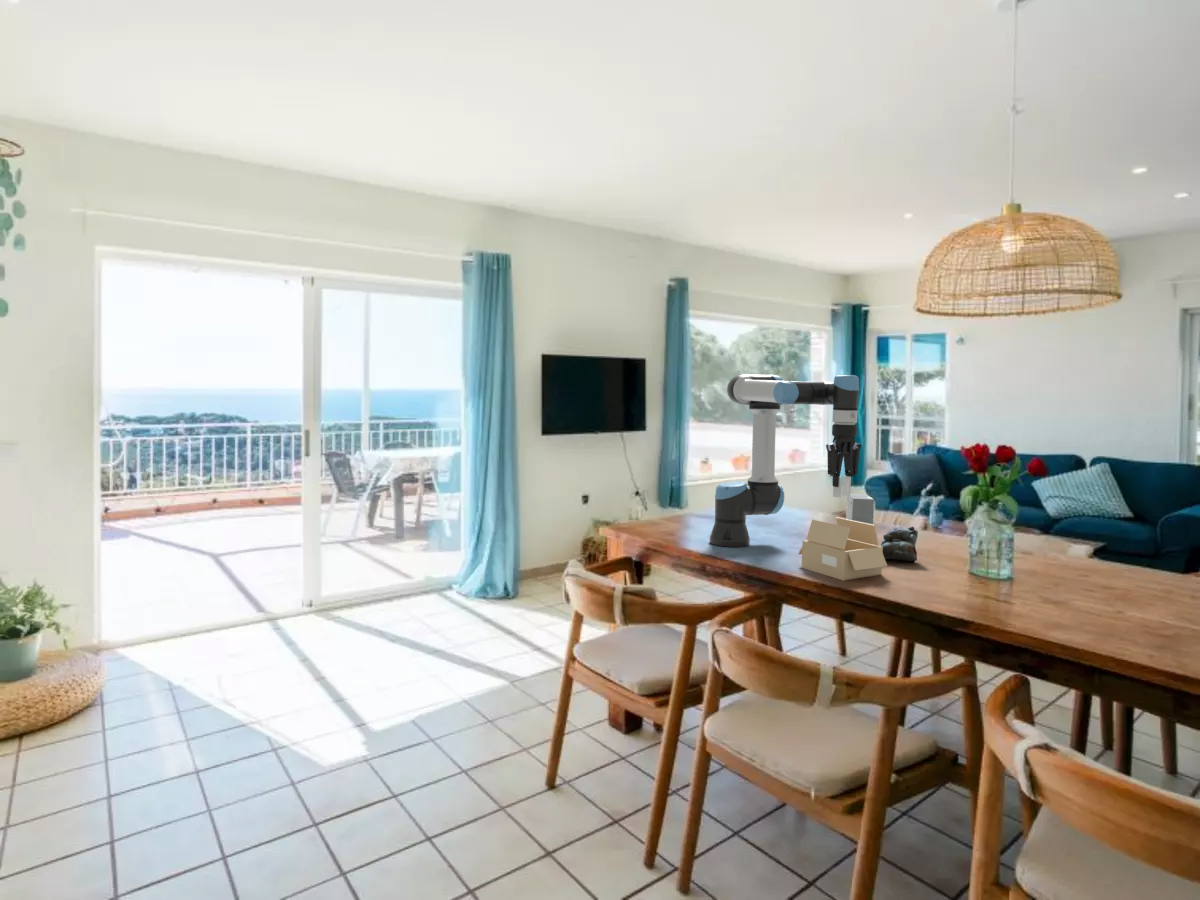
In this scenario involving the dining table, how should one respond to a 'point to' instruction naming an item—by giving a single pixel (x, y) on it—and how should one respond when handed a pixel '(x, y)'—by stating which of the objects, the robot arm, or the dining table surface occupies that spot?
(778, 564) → the dining table surface
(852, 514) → the hard drive box
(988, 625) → the dining table surface
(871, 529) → the flap
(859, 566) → the carton
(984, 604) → the dining table surface
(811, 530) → the flap
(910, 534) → the dark grey backpack
